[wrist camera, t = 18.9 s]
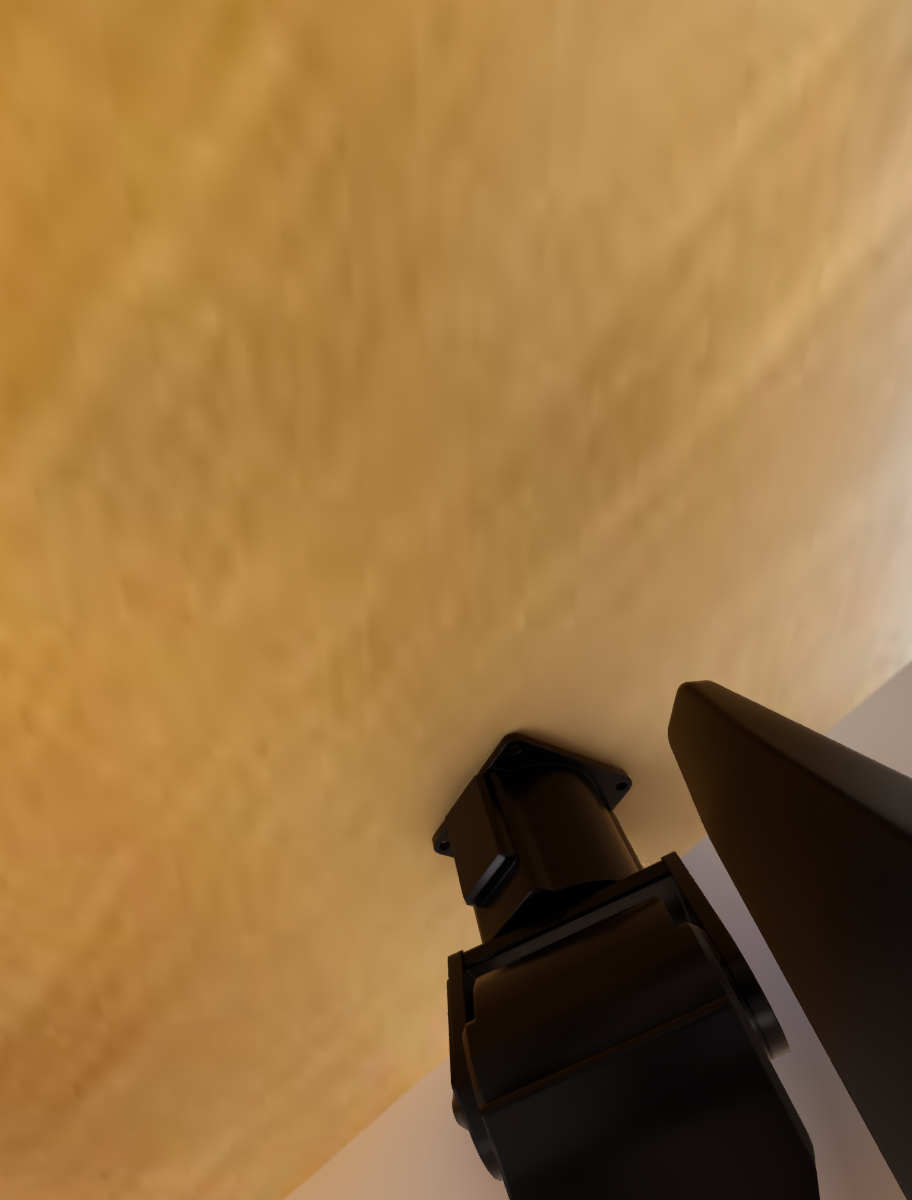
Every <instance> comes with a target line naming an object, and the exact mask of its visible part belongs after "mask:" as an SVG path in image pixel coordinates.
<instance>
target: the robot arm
mask: <svg viewBox="0 0 912 1200" xmlns="http://www.w3.org/2000/svg"><path fill="white" fill-rule="evenodd" d="M668 739H669V743H670V746H671V749H672V751H673V754H674V756H675V758H676V761H677V763H678V765H679V768H680V770H681V773H682V775H683V777H684V780H685V782H686V785H687V787H688V789H689V792H690V794H691V797H692V799H693V801H694V804H695V806H696V808H697V811H698V813H699V816H700V818H701V820H702V823H703V825H704V827H705V829H706V832H707V834H708V836H709V838H710V840H711V842H712V844H713V846H714V848H715V850H716V852H717V853H718V855H719V857H720V859H721V861H722V863H723V864H724V866H725V868H726V870H727V872H728V874H729V875H730V877H731V879H732V881H733V883H734V885H735V886H736V888H737V890H738V892H739V894H740V896H741V897H742V899H743V901H744V903H745V905H746V907H747V908H748V910H749V912H750V914H751V916H752V917H753V919H754V921H755V923H756V925H757V926H758V928H759V930H760V932H761V934H762V936H763V938H764V939H765V941H766V943H767V945H768V947H769V949H770V950H771V952H772V954H773V956H774V958H775V959H776V961H777V963H778V965H779V967H780V969H781V971H782V972H783V974H784V976H785V978H786V980H787V982H788V983H789V985H790V987H791V989H792V991H793V992H794V994H795V996H796V998H797V1000H798V1002H799V1003H800V1005H801V1007H802V1009H803V1010H804V1013H805V1014H806V1016H807V1018H808V1020H809V1022H810V1023H811V1025H812V1027H813V1029H814V1031H815V1033H816V1034H817V1036H818V1038H819V1040H820V1042H821V1044H822V1045H823V1047H824V1049H825V1051H826V1053H827V1054H828V1056H829V1058H830V1060H831V1062H832V1064H833V1066H834V1067H835V1069H836V1071H837V1073H838V1075H839V1077H840V1078H841V1080H842V1082H843V1084H844V1086H845V1087H846V1089H847V1091H848V1093H849V1095H850V1097H851V1098H852V1100H853V1102H854V1104H855V1106H856V1107H857V1109H858V1111H859V1113H860V1115H861V1117H862V1118H863V1120H864V1122H865V1124H866V1126H867V1128H868V1129H869V1131H870V1133H871V1135H872V1137H873V1139H874V1140H875V1142H876V1144H877V1146H878V1147H879V1150H880V1151H881V1153H882V1155H883V1157H884V1159H885V1160H886V1162H887V1164H888V1166H889V1168H890V1170H891V1172H892V1173H893V1175H894V1177H895V1179H896V1181H897V1182H898V1184H899V1186H900V1188H901V1190H902V1192H903V1193H904V1195H905V1197H906V1199H907V1200H912V778H910V777H908V776H906V775H904V774H901V773H900V772H897V771H895V770H893V769H891V768H889V767H887V766H885V765H883V764H881V763H879V762H877V761H875V760H873V759H870V758H869V757H866V756H864V755H862V754H860V753H858V752H856V751H854V750H852V749H850V748H848V747H846V746H844V745H842V744H840V743H838V742H836V741H834V740H831V739H830V738H827V737H825V736H823V735H821V734H819V733H817V732H815V731H813V730H811V729H809V728H807V727H805V726H803V725H801V724H799V723H797V722H795V721H793V720H791V719H788V718H786V717H784V716H782V715H780V714H778V713H776V712H774V711H772V710H770V709H768V708H766V707H764V706H762V705H760V704H758V703H756V702H754V701H752V700H749V699H747V698H745V697H743V696H741V695H739V694H737V693H735V692H733V691H731V690H729V689H727V688H725V687H723V686H721V685H719V684H717V683H715V682H712V681H708V680H703V681H691V682H684V683H683V684H681V685H680V686H679V688H678V690H677V693H676V697H675V701H674V705H673V709H672V714H671V718H670V722H669V726H668ZM513 745H517V746H516V747H514V748H510V747H511V746H513ZM619 782H620V783H619ZM631 786H632V781H631V779H630V777H629V776H628V774H627V773H626V772H625V771H622V770H620V769H617V768H614V767H611V766H608V765H606V764H603V763H600V762H597V761H594V760H592V759H589V758H586V757H583V756H580V755H578V754H575V753H572V752H569V751H566V750H563V749H561V748H558V747H555V746H552V745H549V744H547V743H544V742H541V741H538V740H535V739H533V738H530V737H527V736H524V735H521V734H518V733H512V734H508V735H506V736H505V737H504V738H503V739H502V740H501V741H500V743H499V744H498V746H497V747H496V749H495V750H494V751H493V753H492V754H491V756H490V757H489V758H488V760H487V761H486V763H485V764H484V765H483V767H482V768H481V770H480V771H479V772H478V774H477V775H476V776H474V777H473V779H472V780H471V782H470V783H469V785H468V786H467V787H466V789H465V790H464V792H463V793H462V794H461V796H460V797H459V799H458V800H457V801H456V803H455V804H454V806H453V807H452V808H451V810H450V811H449V813H448V814H447V816H446V817H445V820H444V822H443V823H442V824H441V826H440V827H439V829H438V830H437V831H436V833H435V834H434V836H433V838H432V842H433V847H434V850H435V852H437V853H439V854H442V855H446V856H450V857H454V860H455V864H456V868H457V872H458V877H459V881H460V885H461V889H462V894H463V898H464V900H465V902H466V904H467V905H470V906H473V907H474V911H475V915H476V919H477V924H478V928H479V932H480V936H481V940H482V944H481V945H478V946H476V947H474V948H472V949H470V950H468V951H465V952H464V951H463V950H461V951H459V952H457V953H455V954H452V955H450V956H448V977H449V980H447V999H448V1023H449V1047H450V1071H451V1085H452V1089H453V1100H452V1108H453V1113H454V1116H455V1119H456V1121H457V1122H458V1124H459V1125H460V1126H462V1127H463V1128H465V1129H466V1130H468V1131H469V1132H470V1135H471V1138H472V1140H473V1143H474V1145H475V1147H476V1149H477V1151H478V1153H479V1156H480V1158H481V1160H482V1161H483V1163H484V1165H485V1166H486V1168H487V1170H488V1171H489V1172H490V1174H491V1175H492V1176H493V1177H494V1178H495V1179H497V1180H499V1181H501V1180H503V1181H504V1184H505V1187H506V1190H507V1193H508V1196H509V1199H510V1200H820V1196H819V1187H818V1179H817V1171H816V1165H815V1154H814V1149H813V1145H812V1142H811V1139H810V1137H809V1134H808V1132H807V1131H806V1129H805V1127H804V1125H803V1123H802V1121H801V1119H800V1117H799V1115H798V1113H797V1111H796V1109H795V1108H794V1106H793V1104H792V1102H791V1100H790V1098H789V1096H788V1094H787V1092H786V1091H785V1088H784V1087H783V1085H782V1083H781V1081H780V1079H779V1077H778V1075H777V1073H776V1072H775V1070H774V1068H773V1066H772V1064H771V1062H770V1060H772V1059H774V1058H776V1057H779V1056H781V1055H783V1054H785V1053H787V1052H790V1048H789V1044H788V1042H787V1040H786V1037H785V1035H784V1033H783V1030H782V1028H781V1026H780V1024H779V1022H778V1020H777V1018H776V1016H775V1014H774V1012H773V1010H772V1008H771V1006H770V1004H769V1002H768V1001H767V998H766V996H765V995H764V993H763V991H762V989H761V987H760V985H759V983H758V982H757V980H756V978H755V976H754V974H753V972H752V971H751V969H750V967H749V966H748V964H747V962H746V960H745V959H744V957H743V955H742V953H741V952H740V950H739V948H738V947H737V945H736V943H735V942H734V940H733V939H732V937H731V935H730V934H729V932H728V931H727V929H726V928H725V926H724V925H723V923H722V922H721V920H720V919H719V917H718V916H717V914H716V912H715V911H714V909H713V908H712V906H711V905H710V903H709V902H708V900H707V899H706V897H705V896H704V894H703V893H702V891H701V890H700V888H699V887H698V885H697V884H696V882H695V881H694V879H693V878H692V876H691V875H690V874H689V872H688V870H687V868H686V867H685V866H684V864H683V862H682V861H681V859H680V858H679V856H678V855H677V853H676V852H675V851H674V852H672V853H670V854H668V855H666V856H663V857H661V859H662V860H661V861H659V862H657V863H655V864H653V865H651V866H649V867H646V868H644V869H643V867H642V865H641V863H640V861H639V860H638V858H637V856H636V854H635V852H634V850H633V848H632V846H631V844H630V842H629V841H628V839H627V837H626V835H625V833H624V831H623V829H622V827H621V825H620V823H619V822H618V820H617V818H616V816H615V814H614V812H613V809H614V808H615V807H616V805H617V804H618V803H619V802H620V800H621V799H622V798H623V797H624V796H625V794H626V793H627V792H628V791H629V790H630V788H631ZM445 841H447V842H445ZM442 842H444V843H442Z"/></svg>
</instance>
